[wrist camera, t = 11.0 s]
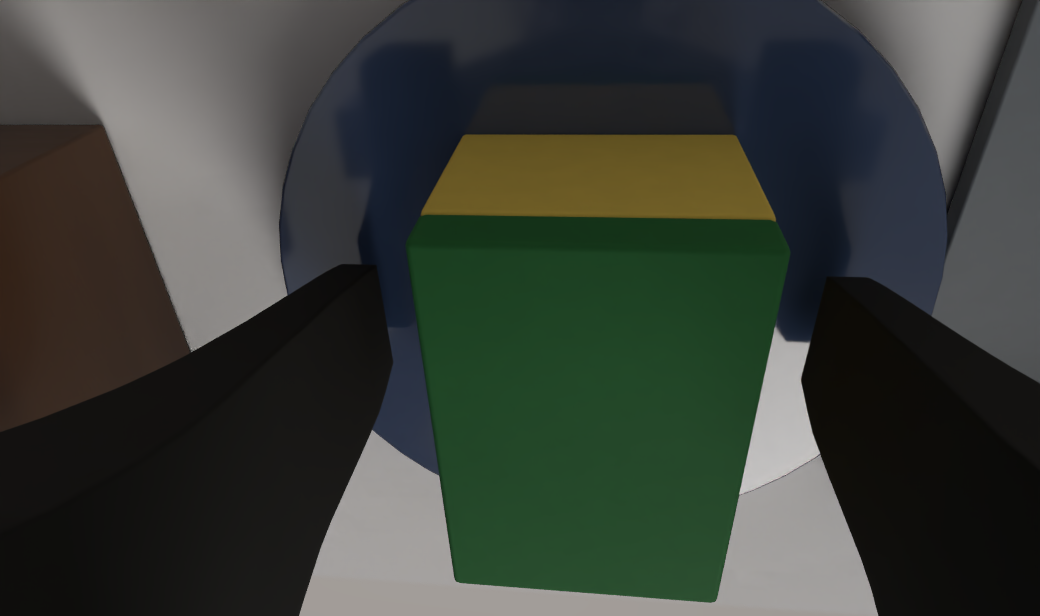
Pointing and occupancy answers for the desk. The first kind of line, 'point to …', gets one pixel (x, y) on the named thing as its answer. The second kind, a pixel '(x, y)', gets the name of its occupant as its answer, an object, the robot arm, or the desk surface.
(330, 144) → the plate
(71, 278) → the brown wooden block
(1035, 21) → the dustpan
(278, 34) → the desk surface
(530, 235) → the sponge
